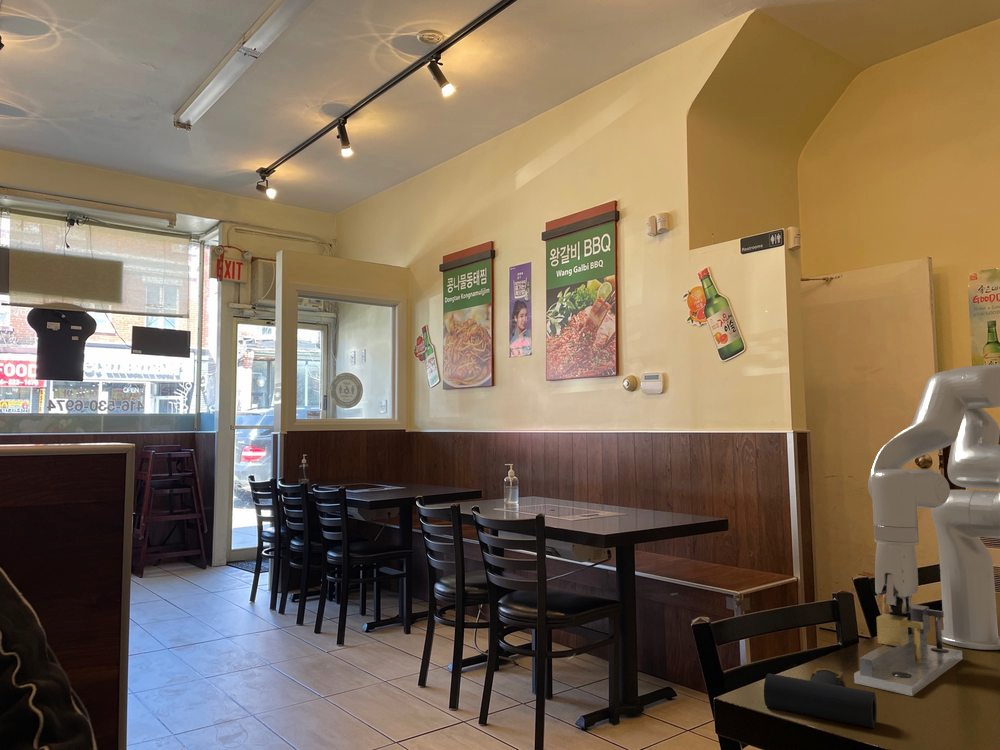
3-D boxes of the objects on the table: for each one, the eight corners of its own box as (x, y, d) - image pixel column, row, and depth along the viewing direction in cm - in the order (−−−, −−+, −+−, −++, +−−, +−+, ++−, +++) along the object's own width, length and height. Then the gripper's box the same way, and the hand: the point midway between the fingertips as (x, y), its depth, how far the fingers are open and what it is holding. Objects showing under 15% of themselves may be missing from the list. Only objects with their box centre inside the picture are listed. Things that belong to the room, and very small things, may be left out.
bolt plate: (910, 649, 143) (909, 627, 143) (962, 659, 136) (961, 635, 137) (854, 683, 122) (853, 656, 123) (912, 696, 116) (910, 668, 116)
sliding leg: (886, 653, 133) (884, 613, 134) (927, 660, 128) (925, 620, 129) (878, 657, 131) (876, 617, 131) (920, 665, 126) (918, 623, 126)
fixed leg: (908, 640, 142) (906, 603, 143) (948, 647, 137) (946, 609, 138) (902, 644, 140) (899, 606, 140) (942, 651, 135) (940, 612, 135)
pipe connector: (781, 658, 120) (881, 674, 111) (783, 690, 119) (883, 709, 111) (763, 677, 110) (870, 696, 102) (764, 712, 110) (872, 735, 101)
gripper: (888, 530, 144) (893, 623, 142) (860, 536, 134) (865, 636, 132) (929, 534, 139) (935, 630, 137) (904, 540, 128) (910, 644, 126)
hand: (901, 633), depth 134 cm, fingers closed
